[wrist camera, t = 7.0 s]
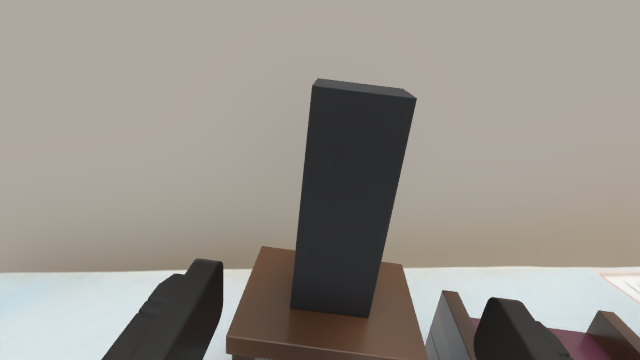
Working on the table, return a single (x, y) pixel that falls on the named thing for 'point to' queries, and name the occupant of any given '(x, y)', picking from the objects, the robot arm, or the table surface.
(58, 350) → the table surface
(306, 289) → the slim remote
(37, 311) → the table surface
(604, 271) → the table surface
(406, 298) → the walnut shelf
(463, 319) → the cushioned bench
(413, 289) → the table surface
